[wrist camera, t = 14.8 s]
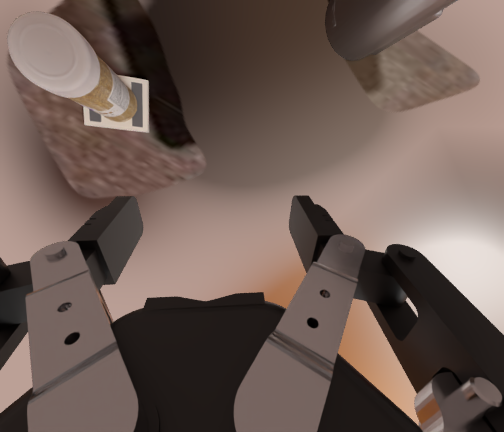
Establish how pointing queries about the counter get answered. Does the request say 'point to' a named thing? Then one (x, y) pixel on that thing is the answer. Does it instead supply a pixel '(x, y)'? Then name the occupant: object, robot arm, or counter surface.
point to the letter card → (141, 116)
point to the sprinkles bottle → (67, 65)
